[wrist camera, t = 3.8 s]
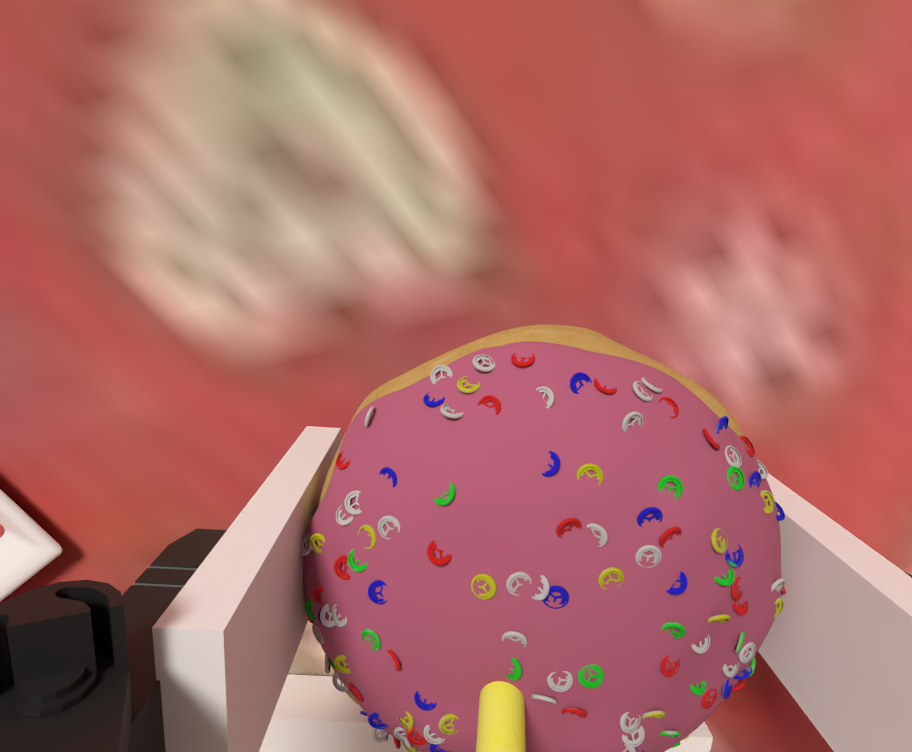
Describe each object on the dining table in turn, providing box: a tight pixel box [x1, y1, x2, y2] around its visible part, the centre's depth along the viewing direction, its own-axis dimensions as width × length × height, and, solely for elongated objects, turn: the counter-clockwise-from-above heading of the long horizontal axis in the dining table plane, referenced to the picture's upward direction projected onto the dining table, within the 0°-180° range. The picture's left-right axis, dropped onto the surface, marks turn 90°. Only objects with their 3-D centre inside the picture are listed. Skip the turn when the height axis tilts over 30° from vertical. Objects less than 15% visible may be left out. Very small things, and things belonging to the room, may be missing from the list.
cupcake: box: [300, 325, 786, 752], centre depth 9 cm, size 9×8×12 cm
